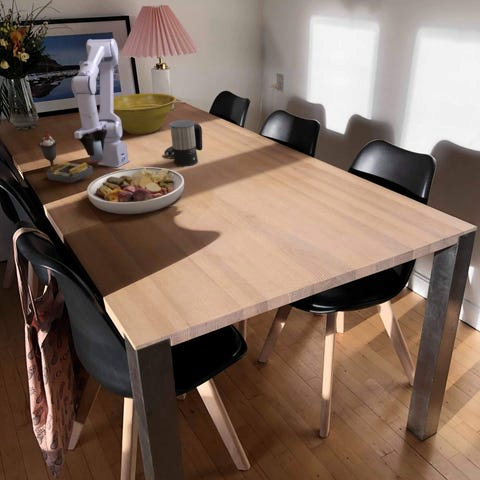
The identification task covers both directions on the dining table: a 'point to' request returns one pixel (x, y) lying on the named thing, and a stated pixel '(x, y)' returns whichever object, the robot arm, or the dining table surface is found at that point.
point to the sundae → (48, 149)
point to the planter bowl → (142, 111)
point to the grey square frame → (75, 172)
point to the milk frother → (184, 142)
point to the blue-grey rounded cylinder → (97, 151)
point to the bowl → (136, 190)
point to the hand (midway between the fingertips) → (95, 153)
